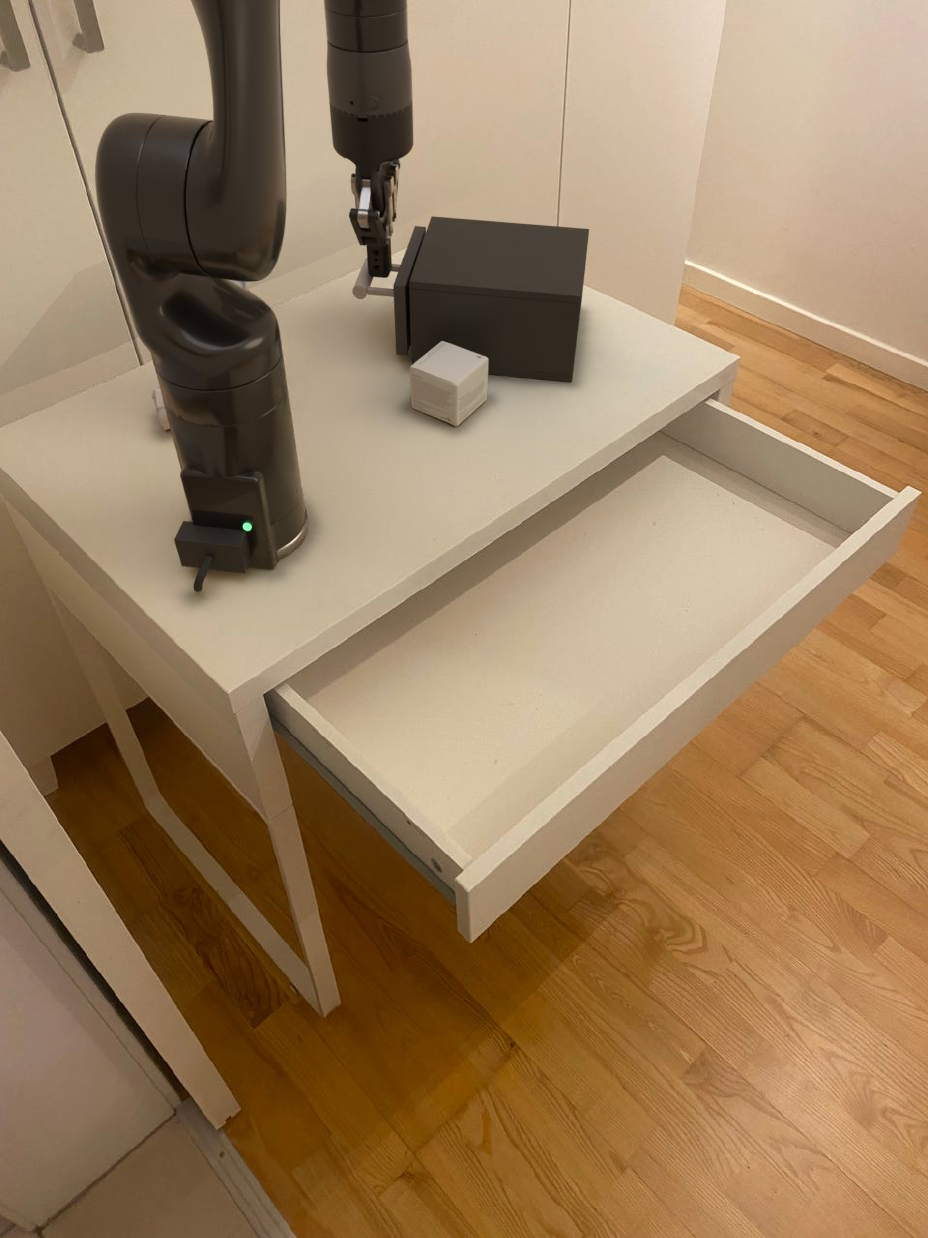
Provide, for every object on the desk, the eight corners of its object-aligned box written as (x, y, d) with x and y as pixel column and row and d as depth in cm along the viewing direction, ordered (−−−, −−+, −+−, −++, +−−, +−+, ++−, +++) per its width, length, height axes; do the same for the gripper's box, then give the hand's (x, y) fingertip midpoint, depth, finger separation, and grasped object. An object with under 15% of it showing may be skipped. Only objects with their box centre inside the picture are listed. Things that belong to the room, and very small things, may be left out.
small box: (441, 380, 97) (441, 338, 94) (489, 400, 95) (491, 357, 92) (408, 408, 94) (407, 365, 91) (457, 428, 92) (457, 385, 89)
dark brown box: (411, 367, 99) (409, 280, 92) (432, 299, 108) (431, 215, 101) (571, 382, 98) (582, 295, 91) (579, 312, 107) (589, 228, 100)
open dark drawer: (348, 350, 99) (343, 280, 93) (372, 289, 107) (368, 221, 102) (545, 368, 98) (552, 298, 92) (554, 305, 106) (561, 237, 100)
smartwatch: (183, 435, 91) (174, 399, 88) (159, 438, 90) (150, 403, 87) (179, 413, 93) (171, 377, 90) (157, 416, 93) (147, 381, 90)
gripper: (345, 65, 91) (358, 240, 104) (312, 120, 82) (330, 304, 95) (424, 70, 90) (426, 246, 103) (398, 126, 82) (404, 310, 95)
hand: (380, 273), depth 99 cm, fingers closed
